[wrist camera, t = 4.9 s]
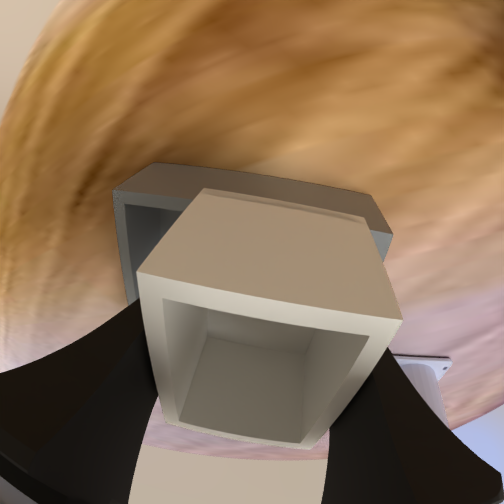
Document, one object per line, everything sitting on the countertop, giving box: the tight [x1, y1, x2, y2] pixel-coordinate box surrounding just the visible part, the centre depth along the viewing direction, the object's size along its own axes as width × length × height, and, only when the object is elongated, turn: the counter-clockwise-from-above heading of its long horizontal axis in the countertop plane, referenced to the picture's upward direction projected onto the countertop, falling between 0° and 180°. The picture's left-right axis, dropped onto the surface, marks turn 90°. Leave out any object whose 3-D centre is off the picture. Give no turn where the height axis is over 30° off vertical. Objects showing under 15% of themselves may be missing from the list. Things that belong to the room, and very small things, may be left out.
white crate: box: [136, 188, 403, 450], centre depth 9 cm, size 6×5×4 cm
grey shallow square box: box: [112, 162, 393, 305], centre depth 17 cm, size 12×12×4 cm
